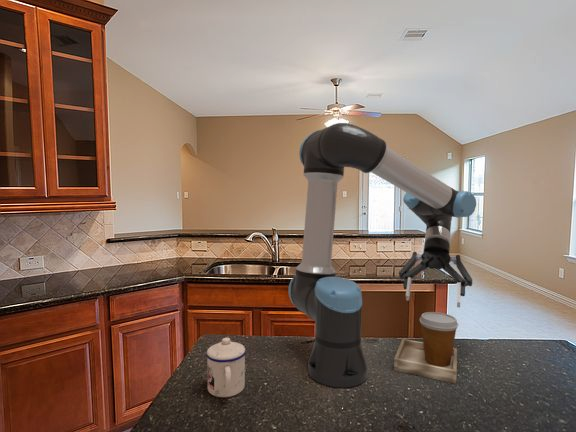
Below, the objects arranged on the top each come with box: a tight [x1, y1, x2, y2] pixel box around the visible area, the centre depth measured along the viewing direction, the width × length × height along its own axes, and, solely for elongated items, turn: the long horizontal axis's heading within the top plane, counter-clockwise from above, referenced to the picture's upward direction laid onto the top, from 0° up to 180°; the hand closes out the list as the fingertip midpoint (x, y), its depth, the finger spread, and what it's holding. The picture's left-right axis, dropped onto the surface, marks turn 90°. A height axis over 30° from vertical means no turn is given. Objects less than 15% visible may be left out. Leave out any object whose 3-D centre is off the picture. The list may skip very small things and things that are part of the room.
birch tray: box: [393, 338, 458, 385], centre depth 92 cm, size 15×15×3 cm
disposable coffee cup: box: [419, 311, 459, 367], centre depth 91 cm, size 10×10×12 cm
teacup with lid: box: [205, 337, 247, 398], centre depth 78 cm, size 12×9×12 cm
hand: (432, 301), depth 98 cm, fingers open, 13 cm apart
